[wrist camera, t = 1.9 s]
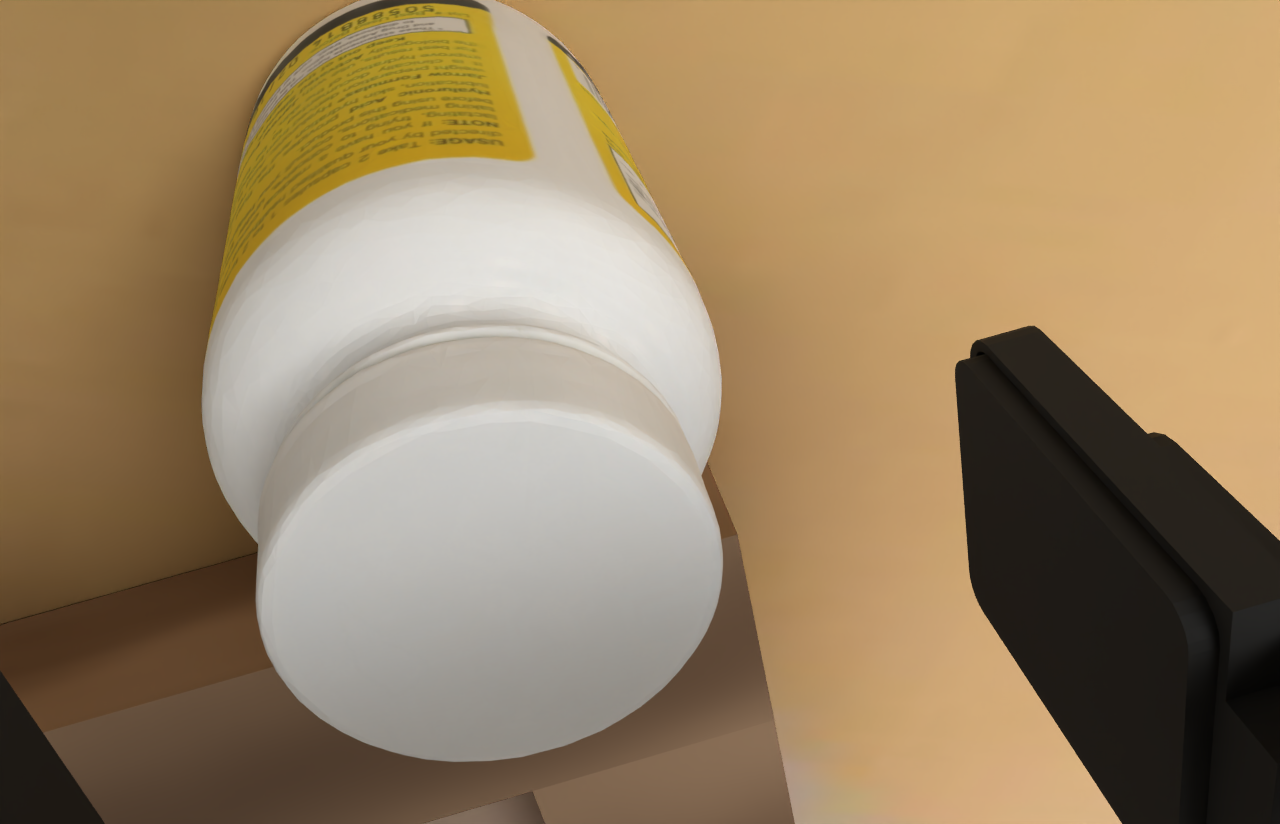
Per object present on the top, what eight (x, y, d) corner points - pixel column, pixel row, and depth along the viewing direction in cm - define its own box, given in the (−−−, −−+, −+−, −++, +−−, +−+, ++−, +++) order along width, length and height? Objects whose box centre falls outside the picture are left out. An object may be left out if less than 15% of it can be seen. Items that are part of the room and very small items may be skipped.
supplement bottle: (189, 243, 18) (59, 742, 10) (338, -95, 16) (325, 195, 8) (509, 372, 20) (612, 863, 12) (677, 91, 18) (931, 462, 10)
